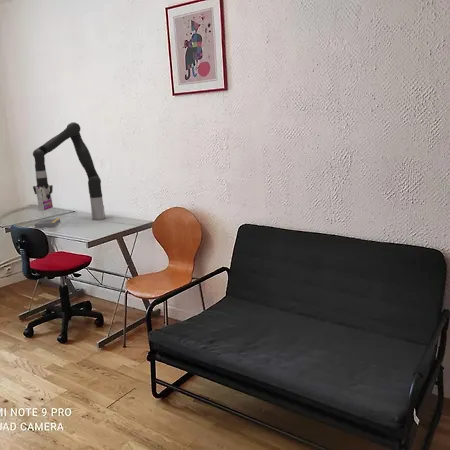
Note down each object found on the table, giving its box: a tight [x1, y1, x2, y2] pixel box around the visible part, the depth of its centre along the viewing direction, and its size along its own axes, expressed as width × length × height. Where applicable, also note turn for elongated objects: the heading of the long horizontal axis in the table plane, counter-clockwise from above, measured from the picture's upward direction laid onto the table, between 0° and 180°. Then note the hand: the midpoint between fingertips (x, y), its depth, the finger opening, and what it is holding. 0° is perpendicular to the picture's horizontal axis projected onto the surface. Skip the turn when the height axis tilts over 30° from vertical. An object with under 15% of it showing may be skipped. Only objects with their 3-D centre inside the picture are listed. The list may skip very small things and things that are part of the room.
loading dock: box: [33, 217, 61, 229], centre depth 347 cm, size 14×16×3 cm
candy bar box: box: [36, 187, 53, 211], centre depth 342 cm, size 11×5×16 cm, turn 168°
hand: (44, 199), depth 343 cm, fingers closed on candy bar box, 5 cm apart
